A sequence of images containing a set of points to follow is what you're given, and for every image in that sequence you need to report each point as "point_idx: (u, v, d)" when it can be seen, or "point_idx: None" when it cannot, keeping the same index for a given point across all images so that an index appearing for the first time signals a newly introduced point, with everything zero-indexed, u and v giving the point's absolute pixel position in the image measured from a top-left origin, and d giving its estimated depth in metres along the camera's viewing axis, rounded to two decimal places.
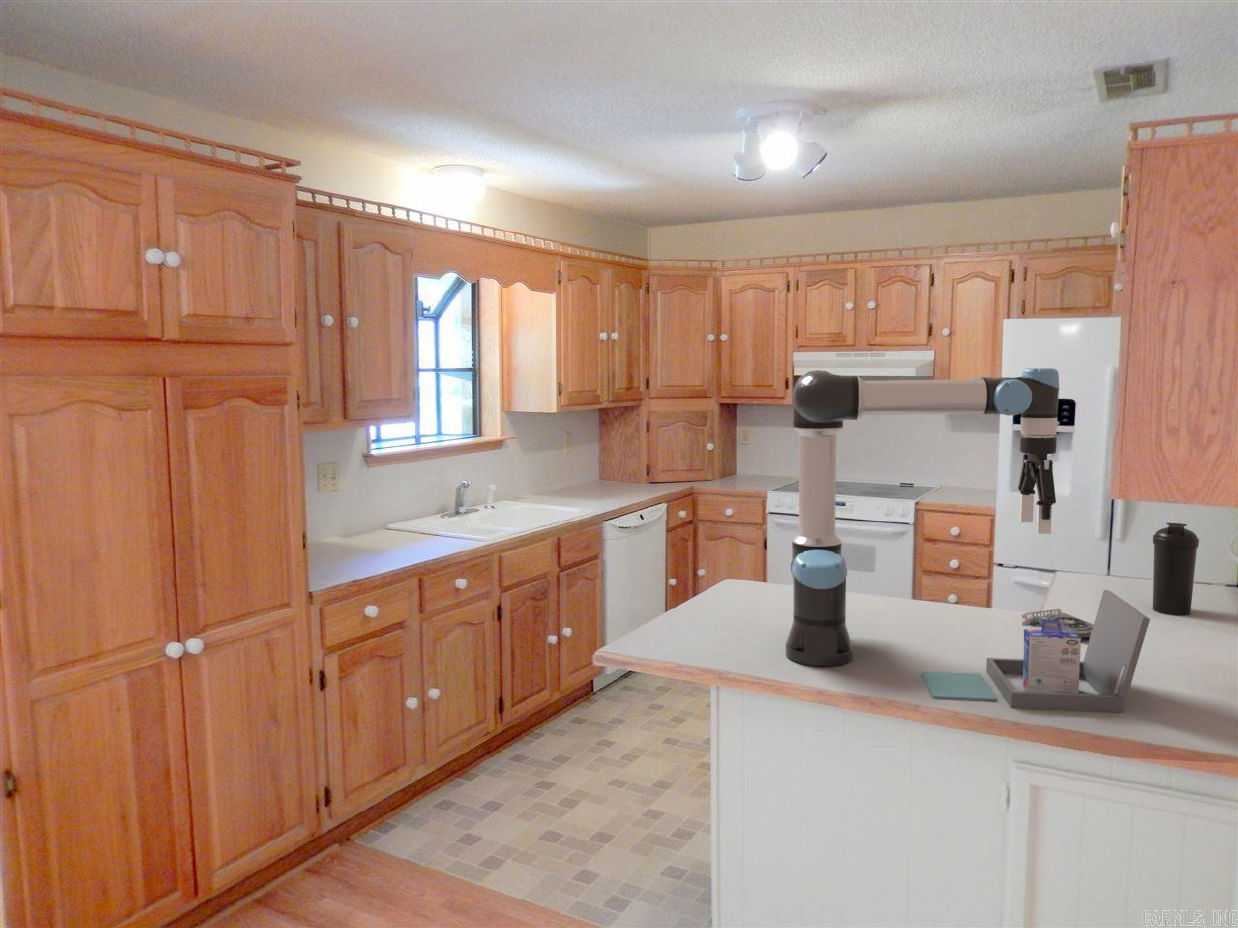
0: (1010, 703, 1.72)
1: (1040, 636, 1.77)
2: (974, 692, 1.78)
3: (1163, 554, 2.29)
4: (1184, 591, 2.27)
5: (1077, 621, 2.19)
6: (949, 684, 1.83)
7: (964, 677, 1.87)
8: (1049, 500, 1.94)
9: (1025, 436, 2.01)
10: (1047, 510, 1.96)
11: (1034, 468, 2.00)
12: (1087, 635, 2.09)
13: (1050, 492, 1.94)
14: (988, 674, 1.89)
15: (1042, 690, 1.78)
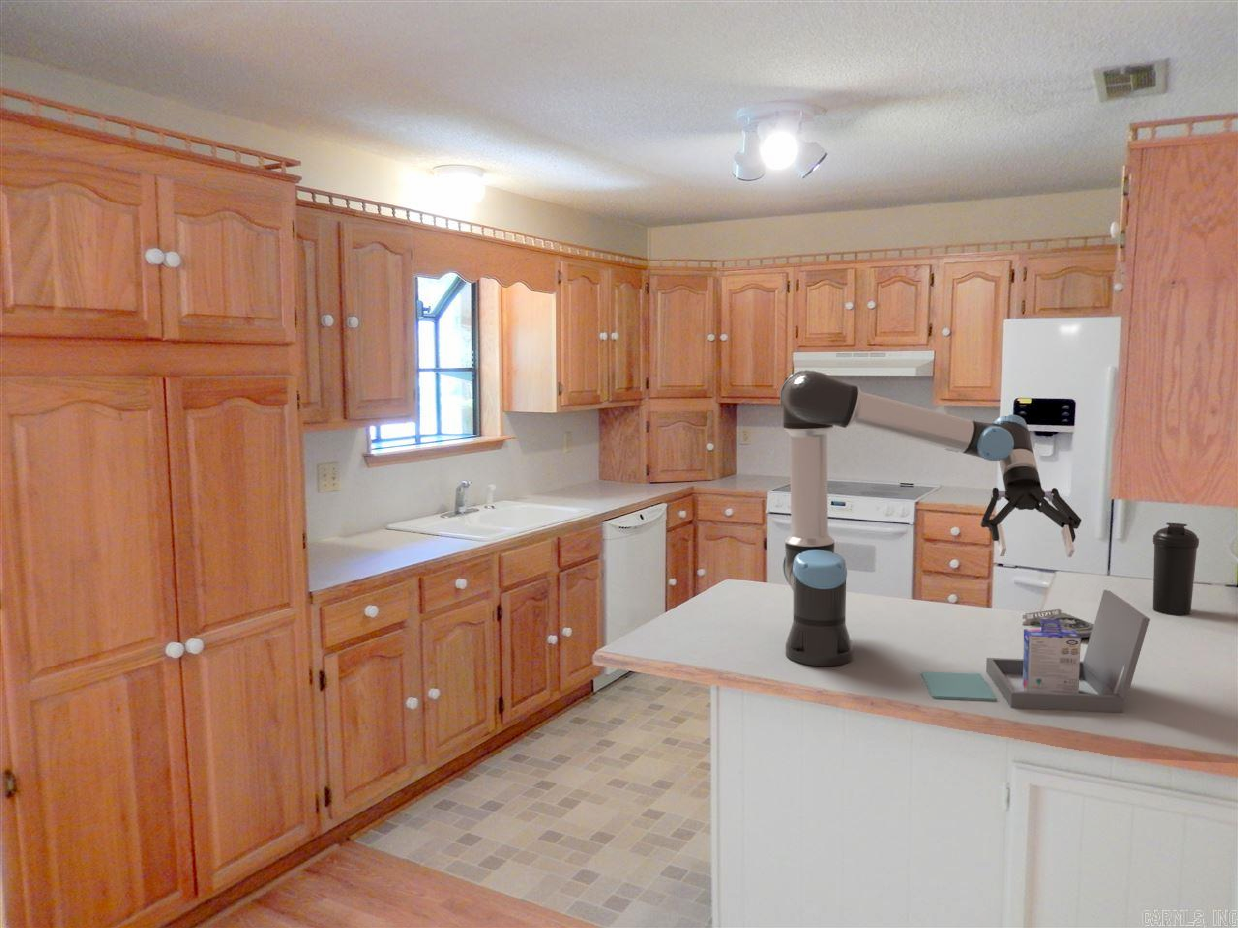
0: (1010, 703, 1.72)
1: (1040, 636, 1.77)
2: (974, 692, 1.78)
3: (1163, 554, 2.29)
4: (1184, 591, 2.27)
5: (1078, 621, 2.19)
6: (949, 684, 1.83)
7: (964, 677, 1.87)
8: None
9: (1027, 465, 1.99)
10: None
11: None
12: (1088, 635, 2.09)
13: None
14: (988, 674, 1.89)
15: (1042, 690, 1.78)
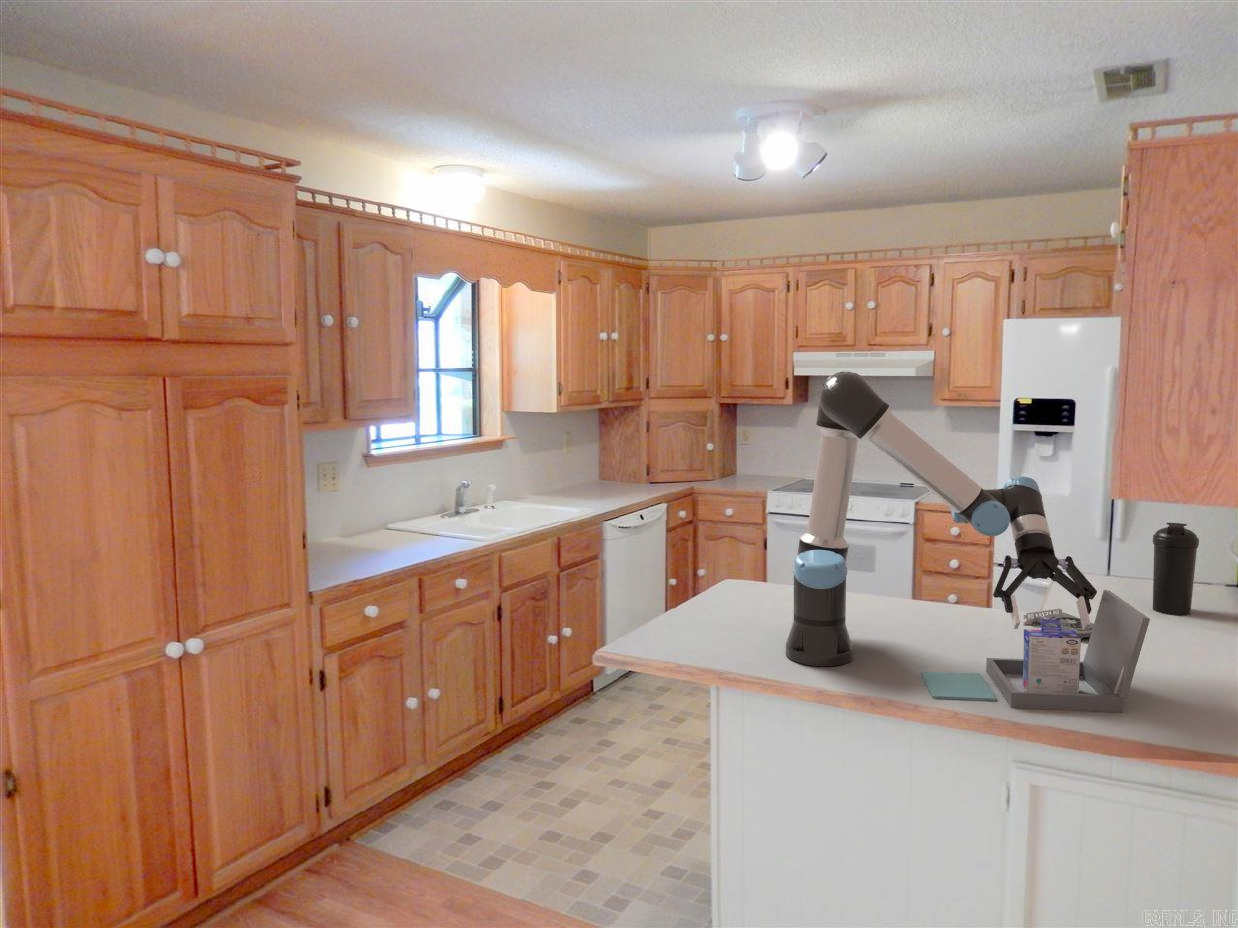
0: (1010, 703, 1.72)
1: (1040, 636, 1.77)
2: (974, 692, 1.78)
3: (1163, 554, 2.29)
4: (1184, 591, 2.27)
5: (1078, 621, 2.19)
6: (949, 684, 1.83)
7: (964, 677, 1.87)
8: None
9: (1040, 532, 1.93)
10: None
11: None
12: (1089, 635, 2.09)
13: None
14: (988, 674, 1.89)
15: (1042, 690, 1.78)
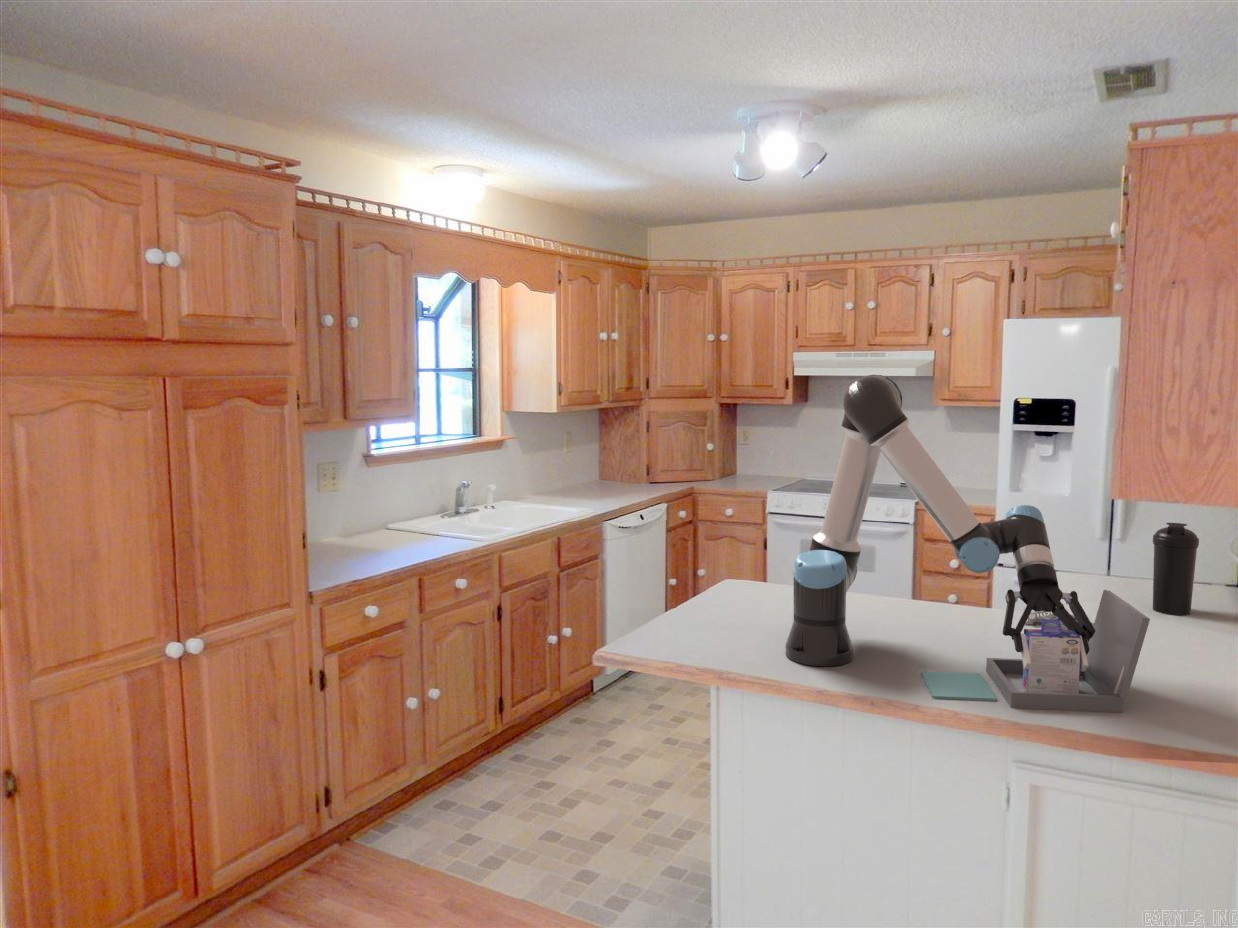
0: (1010, 703, 1.72)
1: (1040, 636, 1.77)
2: (974, 692, 1.78)
3: (1163, 554, 2.29)
4: (1184, 591, 2.27)
5: None
6: (949, 684, 1.83)
7: (964, 677, 1.87)
8: None
9: (1043, 563, 1.87)
10: None
11: None
12: None
13: None
14: (988, 674, 1.89)
15: (1042, 690, 1.78)
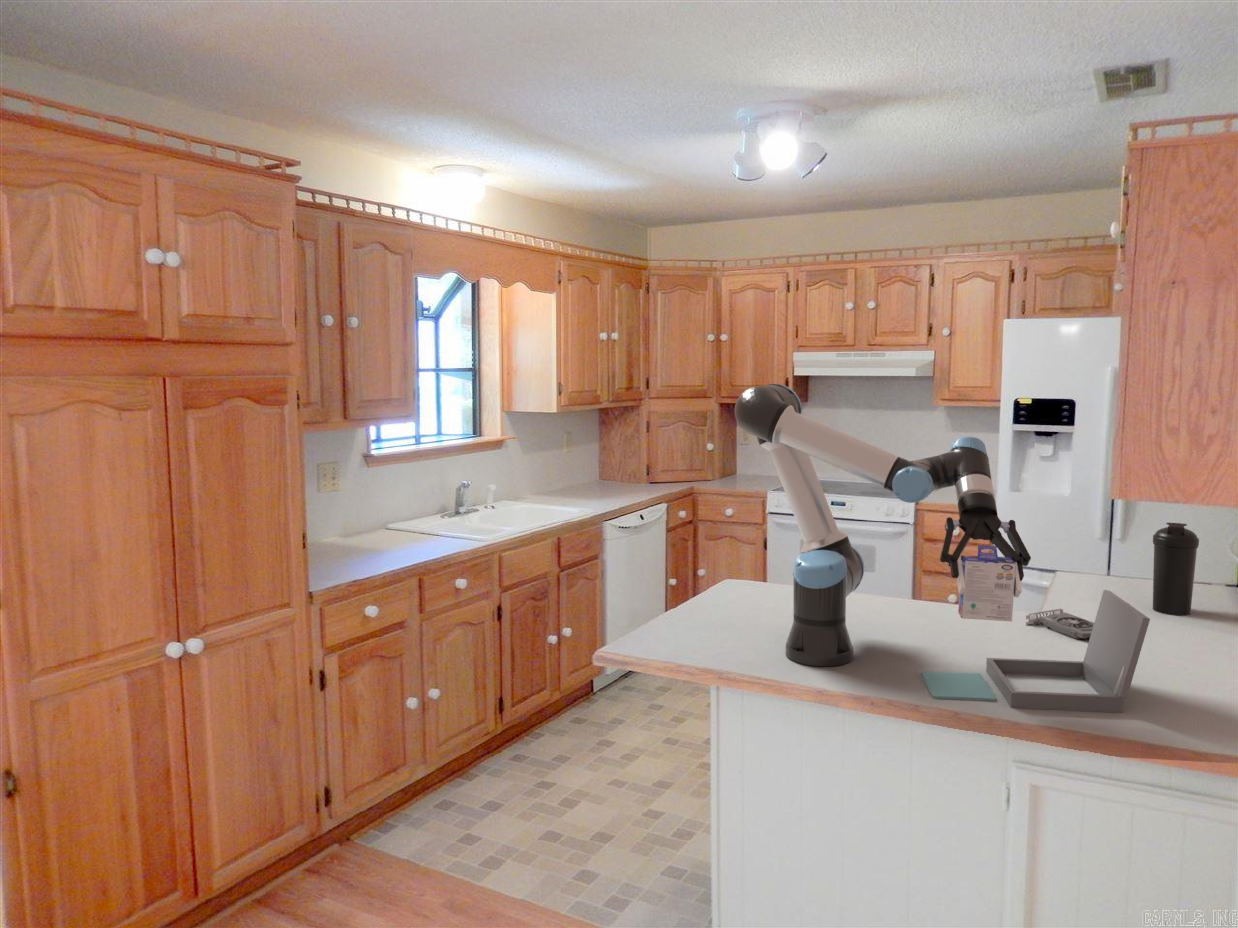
0: (1010, 703, 1.72)
1: (975, 561, 1.77)
2: (974, 692, 1.78)
3: (1163, 554, 2.29)
4: (1184, 591, 2.27)
5: (1080, 621, 2.19)
6: (949, 684, 1.83)
7: (964, 677, 1.87)
8: None
9: (983, 492, 1.87)
10: None
11: None
12: None
13: None
14: (988, 674, 1.89)
15: (976, 615, 1.78)
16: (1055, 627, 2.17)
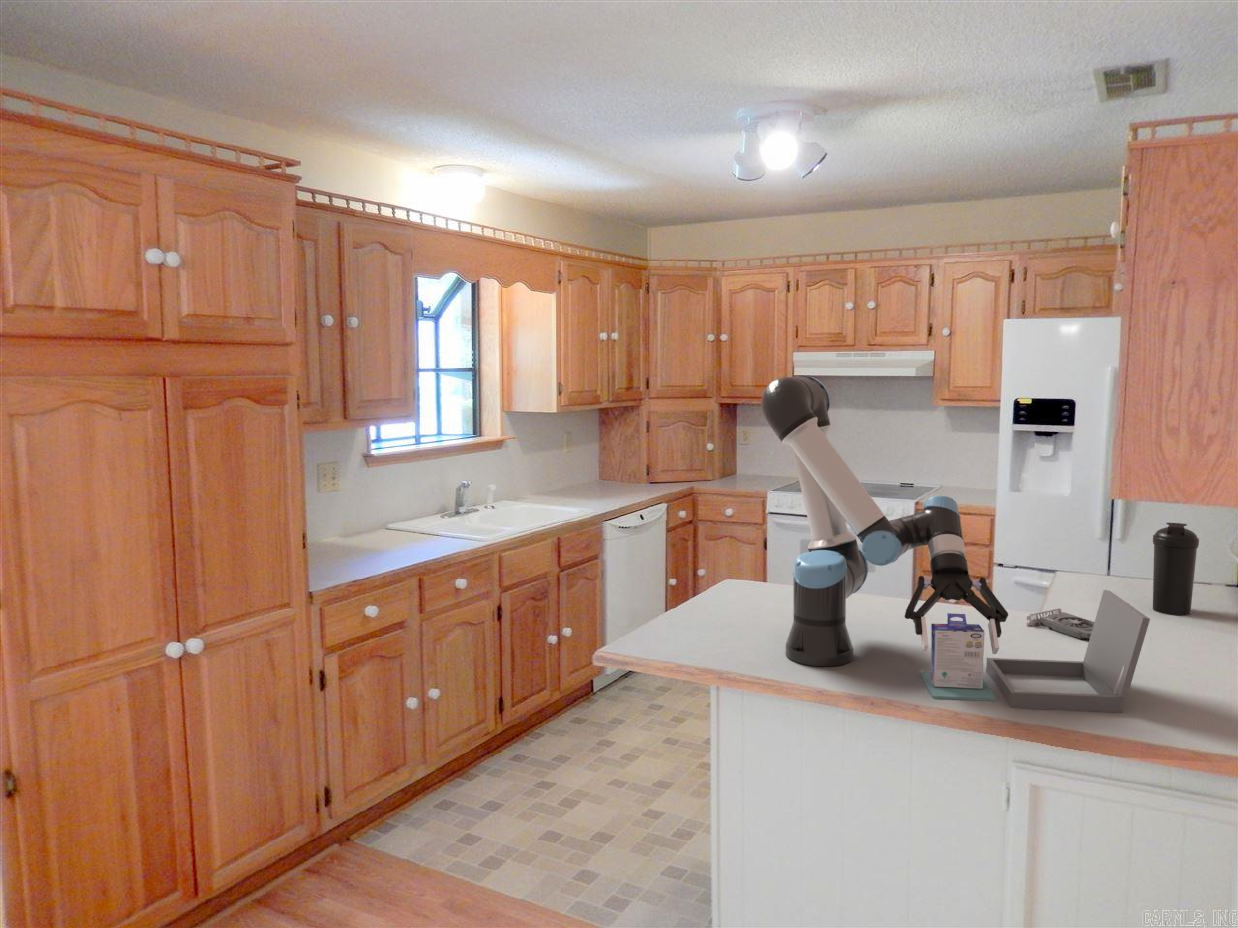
0: (1010, 703, 1.72)
1: (945, 630, 1.80)
2: (974, 692, 1.78)
3: (1163, 554, 2.29)
4: (1184, 591, 2.27)
5: (1080, 620, 2.19)
6: None
7: None
8: None
9: (954, 552, 1.90)
10: None
11: None
12: None
13: None
14: (988, 674, 1.89)
15: (948, 683, 1.81)
16: (1057, 627, 2.16)
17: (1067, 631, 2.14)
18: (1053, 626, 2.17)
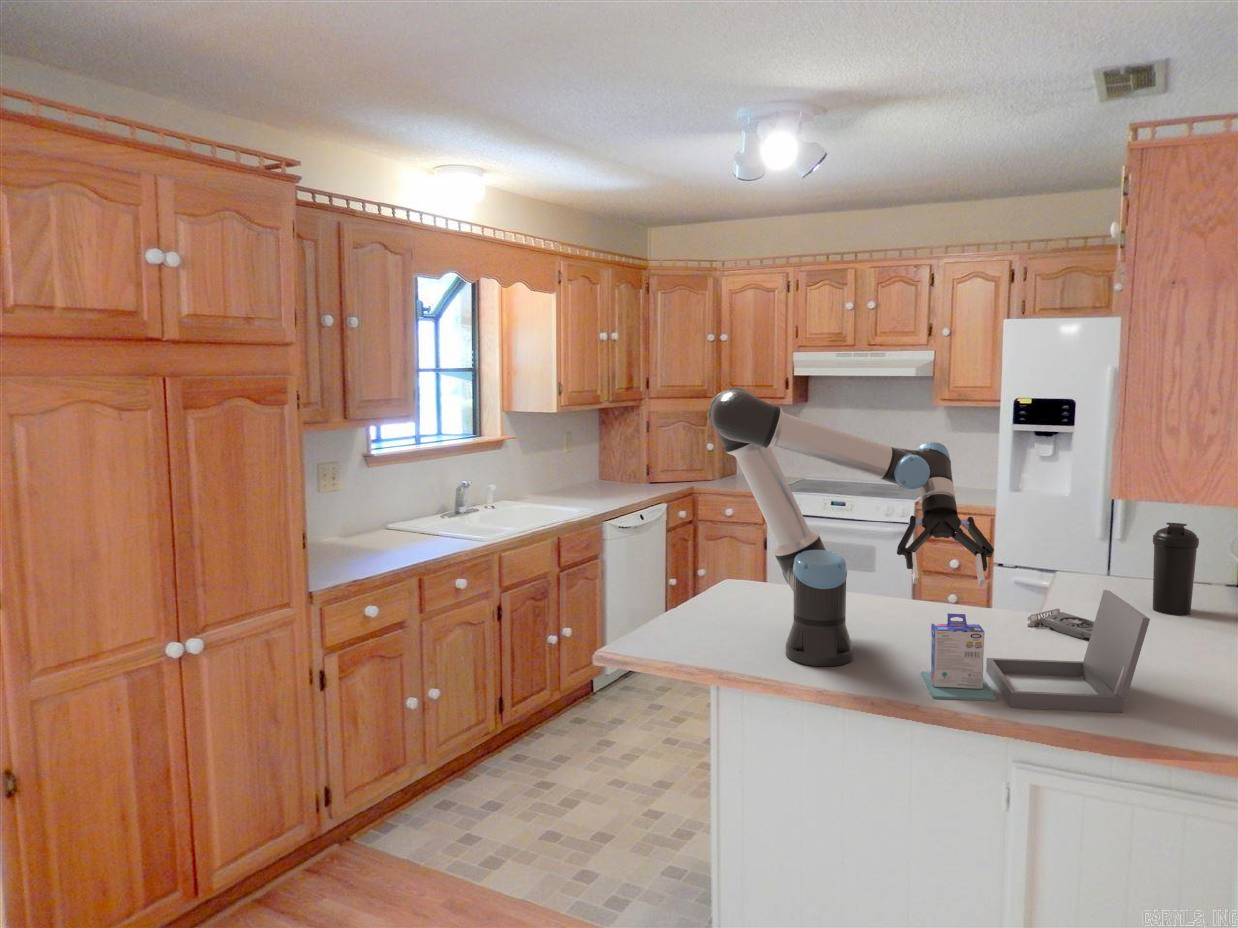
0: (1010, 703, 1.72)
1: (945, 631, 1.80)
2: (974, 692, 1.78)
3: (1163, 554, 2.29)
4: (1184, 591, 2.27)
5: (1080, 620, 2.19)
6: None
7: None
8: None
9: (944, 494, 2.02)
10: None
11: None
12: None
13: None
14: (988, 674, 1.89)
15: (948, 683, 1.81)
16: (1059, 628, 2.16)
17: (1069, 631, 2.14)
18: (1054, 626, 2.17)
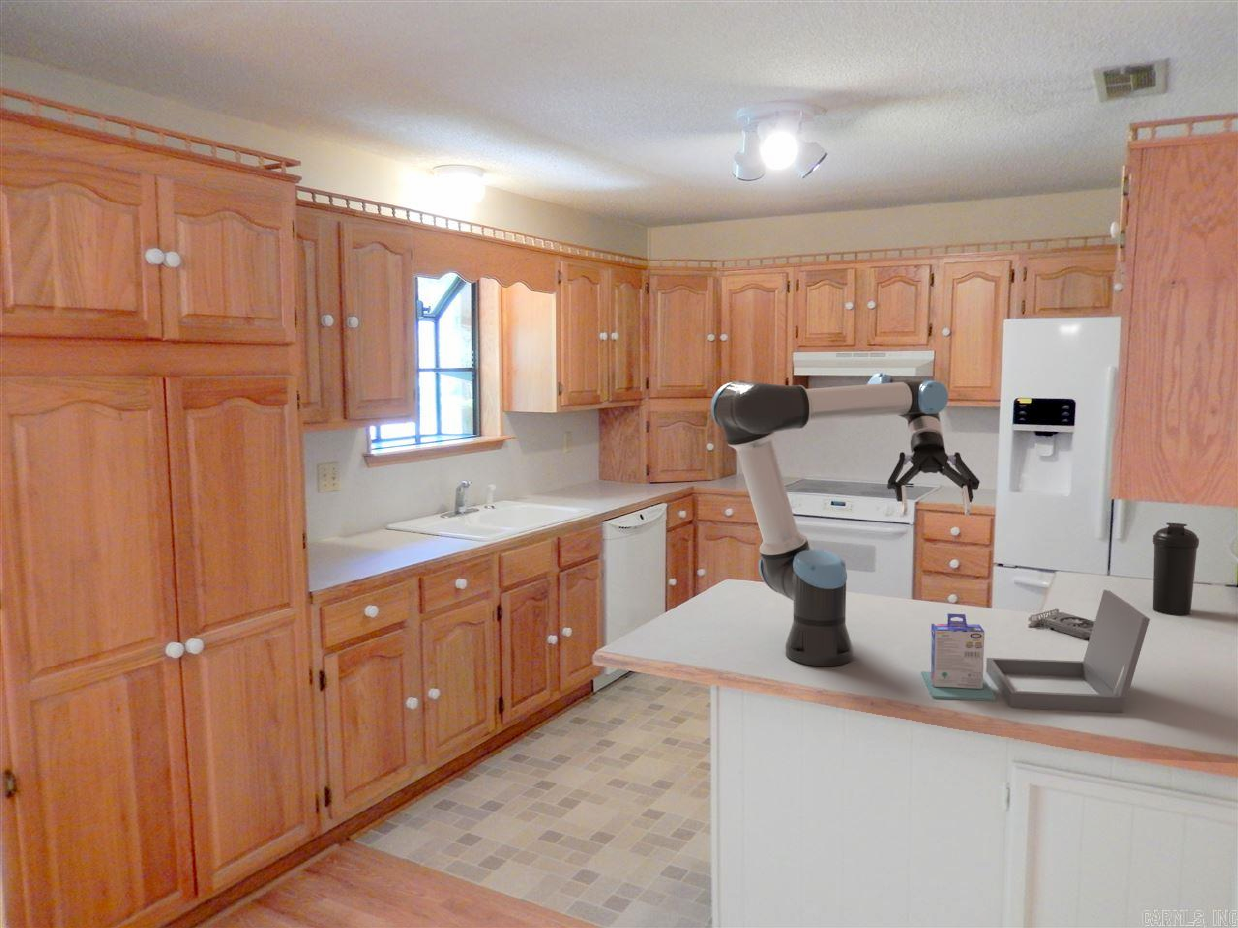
0: (1010, 703, 1.72)
1: (945, 631, 1.80)
2: (974, 692, 1.78)
3: (1163, 554, 2.29)
4: (1184, 591, 2.27)
5: (1080, 620, 2.20)
6: None
7: None
8: None
9: (932, 431, 2.11)
10: None
11: None
12: None
13: None
14: (988, 674, 1.89)
15: (948, 683, 1.81)
16: (1060, 628, 2.16)
17: (1071, 631, 2.13)
18: (1055, 627, 2.17)
